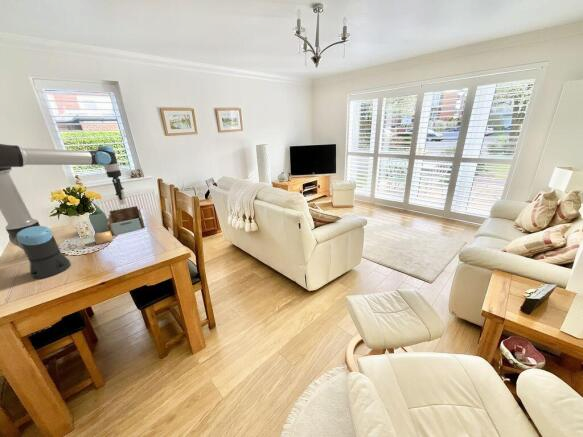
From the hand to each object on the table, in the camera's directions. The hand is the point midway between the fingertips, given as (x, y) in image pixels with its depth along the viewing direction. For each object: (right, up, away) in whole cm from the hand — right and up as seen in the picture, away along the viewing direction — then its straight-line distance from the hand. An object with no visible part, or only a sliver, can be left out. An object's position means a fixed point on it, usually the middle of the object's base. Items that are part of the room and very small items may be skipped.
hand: (123, 201), depth 161 cm
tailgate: (+1, -21, +3) cm, 21 cm away
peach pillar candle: (-5, -27, -8) cm, 29 cm away
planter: (-22, -21, +10) cm, 32 cm away
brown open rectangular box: (-5, -18, +13) cm, 23 cm away
